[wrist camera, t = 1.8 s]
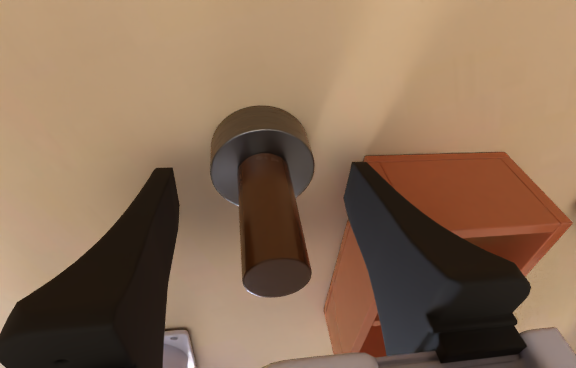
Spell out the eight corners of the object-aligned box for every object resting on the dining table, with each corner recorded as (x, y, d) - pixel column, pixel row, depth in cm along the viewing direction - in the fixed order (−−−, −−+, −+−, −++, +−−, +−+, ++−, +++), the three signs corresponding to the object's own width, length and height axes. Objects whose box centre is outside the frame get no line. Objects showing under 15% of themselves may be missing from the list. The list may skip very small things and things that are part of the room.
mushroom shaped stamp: (214, 185, 18) (211, 320, 12) (207, 105, 15) (199, 238, 10) (302, 182, 18) (333, 309, 13) (312, 105, 15) (358, 229, 10)
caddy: (323, 309, 27) (339, 378, 24) (364, 155, 18) (402, 233, 14) (417, 300, 29) (446, 365, 25) (505, 151, 19) (574, 222, 15)
